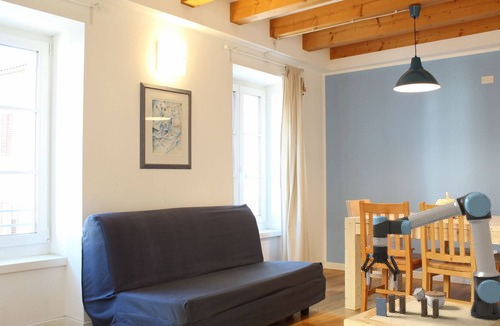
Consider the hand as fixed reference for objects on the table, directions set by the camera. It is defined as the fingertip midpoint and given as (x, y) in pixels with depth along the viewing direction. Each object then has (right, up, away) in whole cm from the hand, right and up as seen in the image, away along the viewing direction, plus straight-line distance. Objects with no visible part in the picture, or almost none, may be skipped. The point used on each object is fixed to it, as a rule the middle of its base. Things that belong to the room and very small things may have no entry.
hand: (380, 286), depth 270 cm
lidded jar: (+35, -16, +17) cm, 42 cm away
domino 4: (+23, -15, -2) cm, 27 cm away
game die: (+32, -17, +32) cm, 48 cm away
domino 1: (0, -15, -1) cm, 15 cm away
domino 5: (+27, -15, -5) cm, 32 cm away
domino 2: (+8, -16, +8) cm, 19 cm away
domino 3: (+13, -16, +4) cm, 21 cm away
